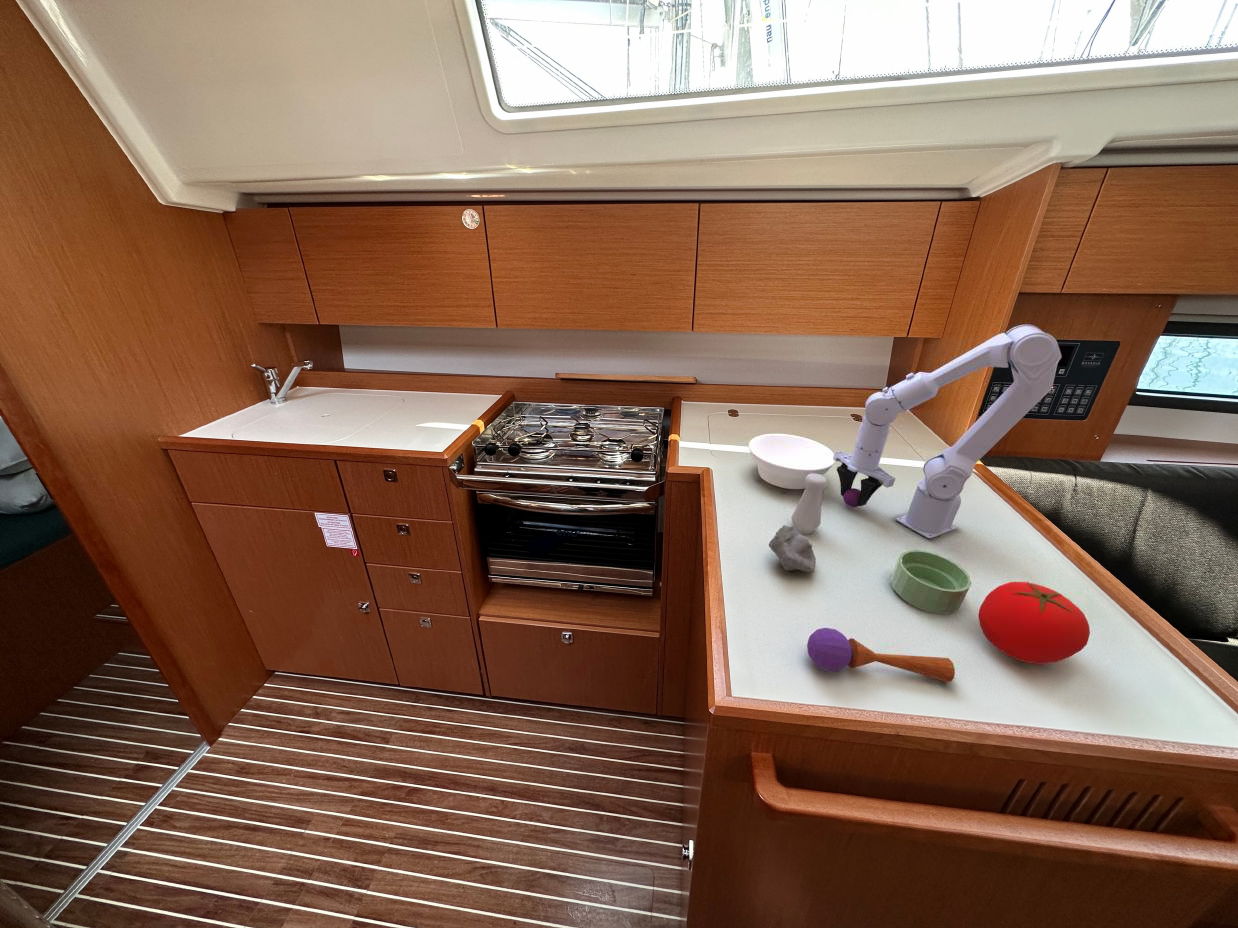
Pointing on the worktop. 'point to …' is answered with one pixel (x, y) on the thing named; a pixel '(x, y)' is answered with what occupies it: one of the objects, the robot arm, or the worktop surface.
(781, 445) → the bowl
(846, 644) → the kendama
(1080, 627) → the tomato
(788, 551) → the grey rock
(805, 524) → the salt shaker
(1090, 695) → the worktop surface
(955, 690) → the worktop surface
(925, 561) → the green bowl
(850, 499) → the ball
